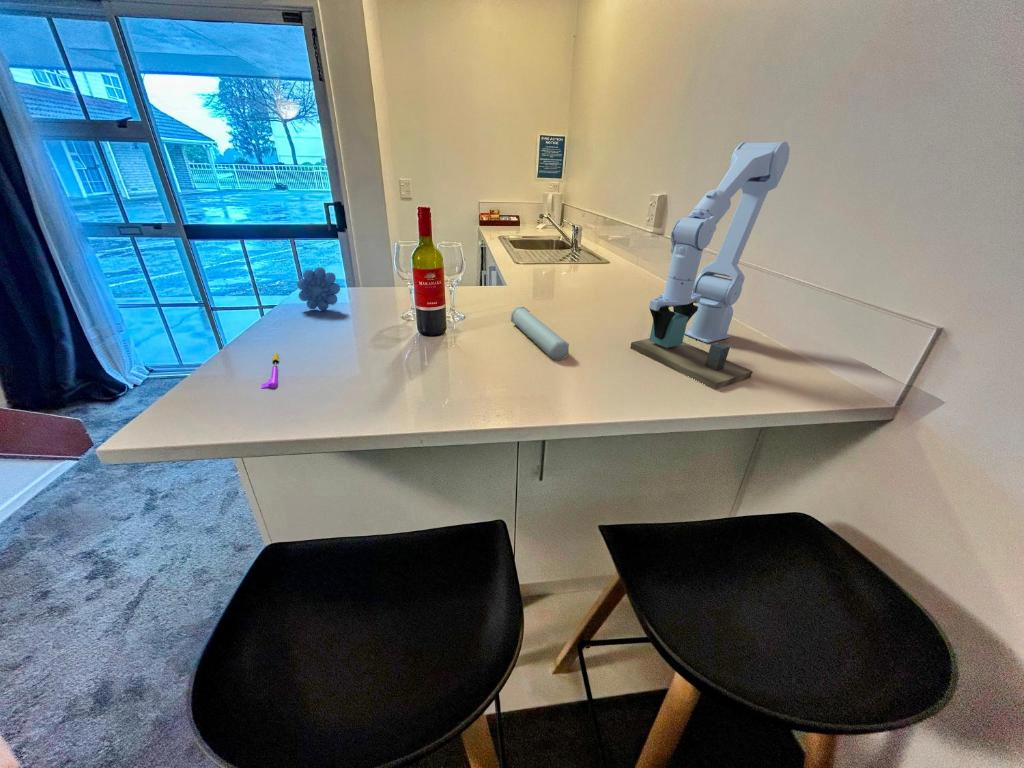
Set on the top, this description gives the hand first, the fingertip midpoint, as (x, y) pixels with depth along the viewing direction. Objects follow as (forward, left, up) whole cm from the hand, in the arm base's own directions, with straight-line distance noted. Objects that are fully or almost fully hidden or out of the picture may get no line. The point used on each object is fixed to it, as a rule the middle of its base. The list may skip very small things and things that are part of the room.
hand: (667, 336), depth 93 cm
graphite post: (0, +13, -2) cm, 13 cm away
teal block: (0, 0, -2) cm, 2 cm away
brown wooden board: (0, +7, -4) cm, 8 cm away
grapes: (+66, -63, -4) cm, 92 cm away
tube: (+24, -18, -4) cm, 30 cm away
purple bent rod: (+81, -28, -5) cm, 85 cm away
